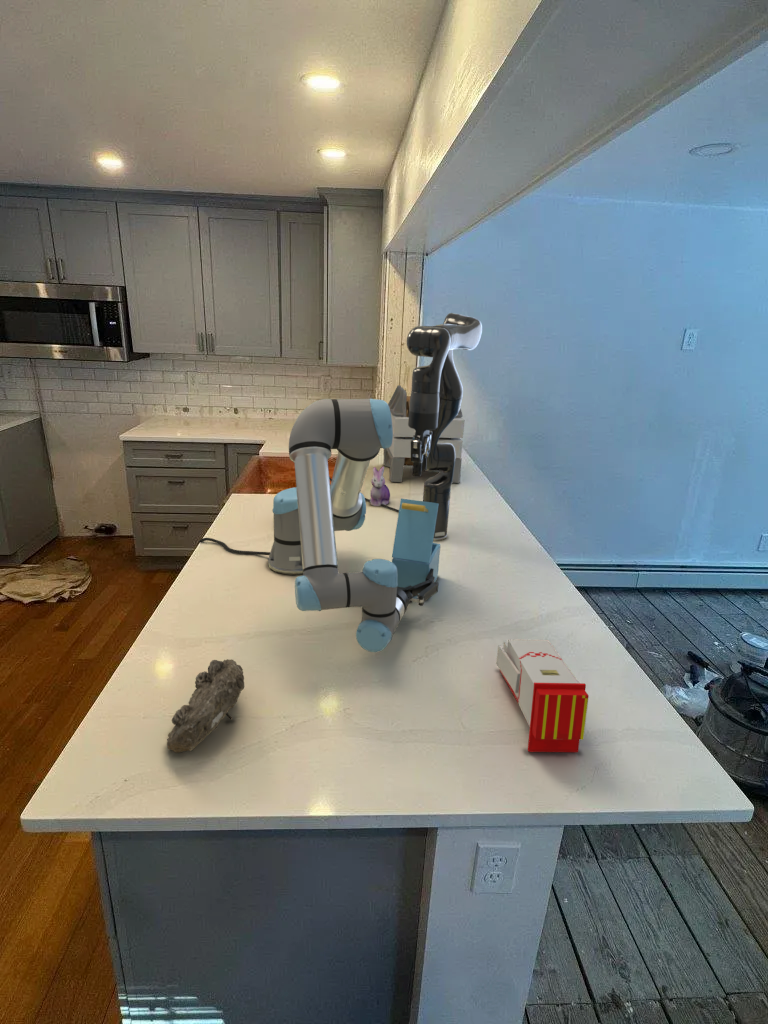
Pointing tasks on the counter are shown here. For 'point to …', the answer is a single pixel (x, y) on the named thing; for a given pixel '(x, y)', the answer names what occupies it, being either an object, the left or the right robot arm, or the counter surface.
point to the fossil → (206, 705)
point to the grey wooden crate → (404, 434)
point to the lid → (415, 530)
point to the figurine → (379, 488)
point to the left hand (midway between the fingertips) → (412, 569)
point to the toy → (545, 694)
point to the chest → (416, 568)
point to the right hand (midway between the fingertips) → (419, 473)
